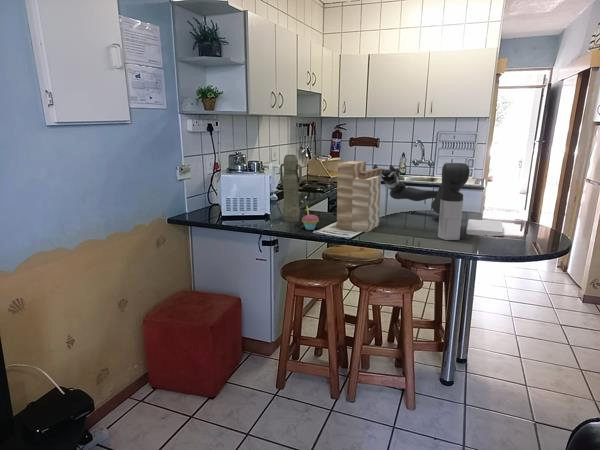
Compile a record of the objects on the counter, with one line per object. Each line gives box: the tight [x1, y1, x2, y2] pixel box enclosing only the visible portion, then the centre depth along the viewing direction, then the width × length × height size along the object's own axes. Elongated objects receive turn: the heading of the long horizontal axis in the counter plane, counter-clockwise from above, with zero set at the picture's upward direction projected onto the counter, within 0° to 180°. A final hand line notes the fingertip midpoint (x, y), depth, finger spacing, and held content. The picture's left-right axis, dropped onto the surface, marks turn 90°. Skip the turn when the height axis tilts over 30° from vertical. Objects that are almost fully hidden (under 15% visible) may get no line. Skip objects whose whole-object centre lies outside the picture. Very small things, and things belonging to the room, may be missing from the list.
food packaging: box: [465, 218, 504, 237], centre depth 191 cm, size 15×3×20 cm
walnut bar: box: [359, 167, 383, 179], centre depth 197 cm, size 24×3×3 cm, turn 149°
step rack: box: [336, 160, 382, 233], centre depth 197 cm, size 16×16×32 cm
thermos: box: [279, 154, 303, 223], centre depth 213 cm, size 9×12×35 cm
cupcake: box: [301, 205, 320, 231], centre depth 197 cm, size 9×8×12 cm
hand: (382, 166), depth 210 cm, fingers open, 8 cm apart
